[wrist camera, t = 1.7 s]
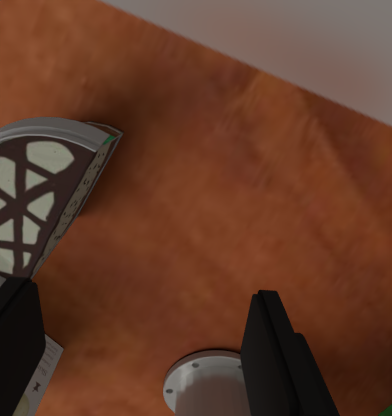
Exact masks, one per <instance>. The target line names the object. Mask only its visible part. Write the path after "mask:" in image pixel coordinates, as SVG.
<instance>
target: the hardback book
mask: <svg viewBox="0 0 392 416" xmlns="http://www.w3.org/2000/svg"><path fill="white" fill-rule="evenodd" d="M378 416H392V404H391V405H390V406H389V407H388V408H386V409H385V410H384V411H383V412H381V413H380V414H379V415H378Z"/></svg>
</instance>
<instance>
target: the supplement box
mask: <svg viewBox="0 0 392 416" xmlns="http://www.w3.org/2000/svg"><path fill="white" fill-rule="evenodd" d="M45 339H46V348H45V352H44V354H43V356H42V358H41V360H40V362H39V364H38V366H37V368H36V370H35V372H34V374H33V376H32V378H31V380H30V382H29V384H28V386H27V388H26V390H25V392H24V394H23V396H22V398H21V400H20V402H19V404H18V406H17V408H16V410H15V412H14V414H13V416H34V415H35V413H36V411H37V408H38V406H39V404H40V402H41V399H42V397H43V395H44V393H45V391H46V388H47V386H48V384H49V381H50V379H51V377H52V375H53V372H54V370H55V368H56V366H57V363H58V361H59V359H60V357H61V354H62V352H63V350H64V349H63V348H62V347H61V346H60V345H58V344H57V343H56V342H55V341H53V340H52V339H51V338H50V337H48V336H47V335H46V334H45Z"/></svg>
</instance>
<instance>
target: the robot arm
mask: <svg viewBox="0 0 392 416" xmlns="http://www.w3.org/2000/svg"><path fill="white" fill-rule="evenodd" d="M45 348H46V339H45V332H44V326H43V320H42V313H41V307H40V300H39V294H38V288H37V284H36V283H35V282H32V280H31V278H29V277H9V278H8V279H6V281H5V282H4V283H3V284H2V285H1V286H0V416H13V414H14V412H15V410H16V408H17V406H18V404H19V402H20V400H21V398H22V396H23V394H24V392H25V390H26V388H27V386H28V384H29V382H30V380H31V378H32V376H33V374H34V372H35V370H36V368H37V366H38V364H39V362H40V360H41V358H42V356H43V354H44V352H45ZM163 396H164V399H165V402H166V403H167V405H168V407H169V408H170V409H171V410H172V411H173V412H174V413H175V416H340V415H339V413H338V411H337V408H336V406H335V404H334V402H333V400H332V397H331V395H330V393H329V391H328V388H327V386H326V384H325V382H324V380H323V377H322V375H321V373H320V371H319V368H318V366H317V364H316V362H315V360H314V357H313V355H312V353H311V351H310V348H309V346H308V344H307V342H306V340H305V338H304V336H303V335H302V334H301V333H294V330H293V328H292V326H291V323H290V321H289V318H288V316H287V314H286V311H285V309H284V307H283V304H282V302H281V299H280V297H279V295H278V293H277V291H270V290H259V291H258V294H253V296H252V300H251V304H250V309H249V313H248V318H247V323H246V327H245V332H244V337H243V341H242V346H241V351H240V354H237V353H235V352H230V351H225V350H210V351H203V352H198V353H194V354H192V355H189V356H187V357H185V358H183V359H182V360H180V361H178V362H177V363H176V364H175V365H173V366H172V367H171V369H170V370H169V371H168V373H167V375H166V377H165V379H164V386H163Z"/></svg>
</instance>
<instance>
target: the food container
mask: <svg viewBox="0 0 392 416" xmlns="http://www.w3.org/2000/svg"><path fill="white" fill-rule="evenodd" d="M123 133H124V132H123V131H121V130H119V129H117V128H115V127H113V126H111V125H107V124H102V123H97V122H93V121H90V122H79V121H75V120H70V119H64V118H58V117H37V118H29V119H23V120H20V121H17V122H14V123H10V124H8V125H6V126H4V127H2V128H0V286H1V285H2V284H3V283H4V282H5V281H6V279H8V278H9V277H29V278H31V279H32V278H33V277H34V275H35V274H36V273H37V271H38V270H39V268H40V267H41V266H42V264H43V263H44V262H45V260H46V259H47V258H48V256H49V255H50V253H51V252H52V251H53V249H54V248H55V247H56V245H57V244H58V242H59V241H60V240H61V238H62V237H63V236H64V234H65V233H66V231H67V230H68V229H69V227H70V226H71V225H72V223H73V222H74V220H75V219H76V218H77V216H78V214H79V212H80V211H81V209H82V207H83V205H84V203H85V202H86V200H87V198H88V196H89V194H90V193H91V191H92V189H93V187H94V185H95V184H96V182H97V180H98V178H99V176H100V175H101V173H102V171H103V169H104V167H105V165H106V164H107V162H108V160H109V158H110V156H111V155H112V153H113V151H114V149H115V147H116V146H117V144H118V142H119V140H120V138H121V137H122V135H123Z"/></svg>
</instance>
